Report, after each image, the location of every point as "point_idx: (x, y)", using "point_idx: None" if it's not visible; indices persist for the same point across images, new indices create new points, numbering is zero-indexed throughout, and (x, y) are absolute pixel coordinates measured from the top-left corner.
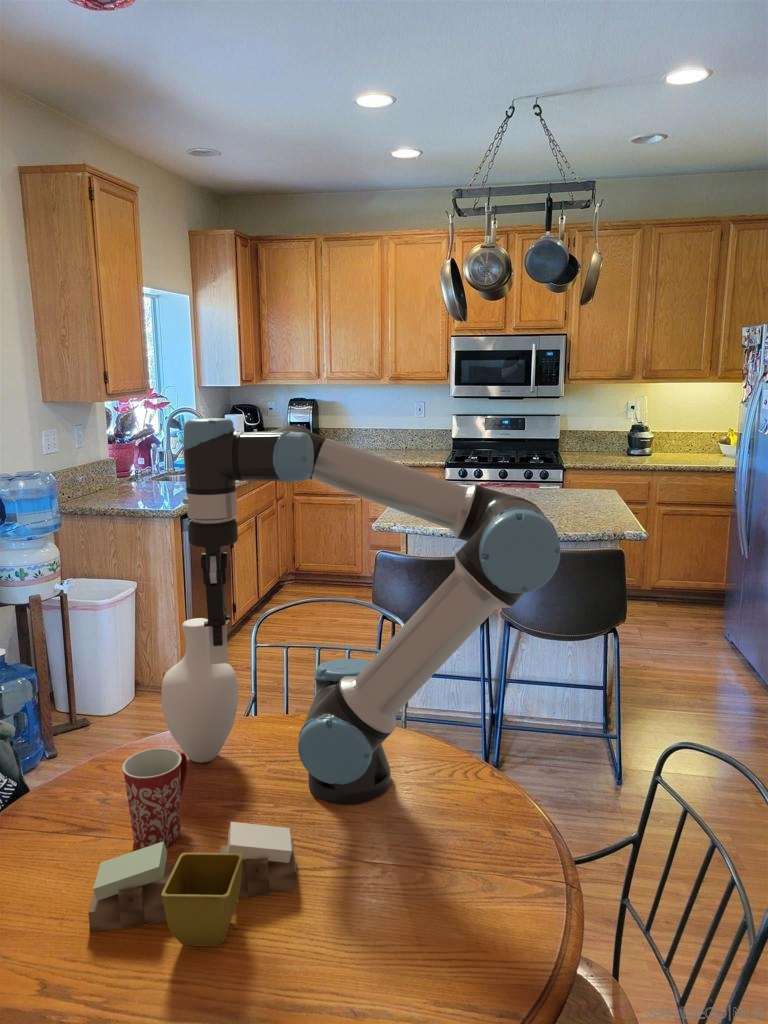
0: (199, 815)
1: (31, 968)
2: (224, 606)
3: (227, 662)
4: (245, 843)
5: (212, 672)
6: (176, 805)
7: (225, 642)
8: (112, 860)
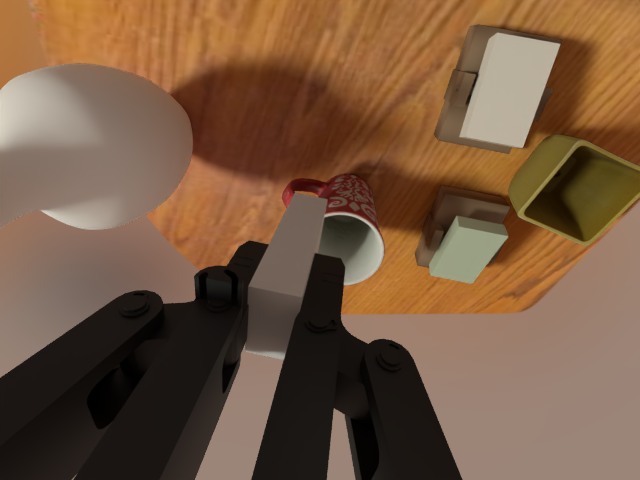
0: (317, 146)
1: (485, 301)
2: (211, 370)
3: (326, 200)
4: (524, 122)
5: (86, 144)
6: (365, 197)
7: (316, 244)
8: (439, 267)
